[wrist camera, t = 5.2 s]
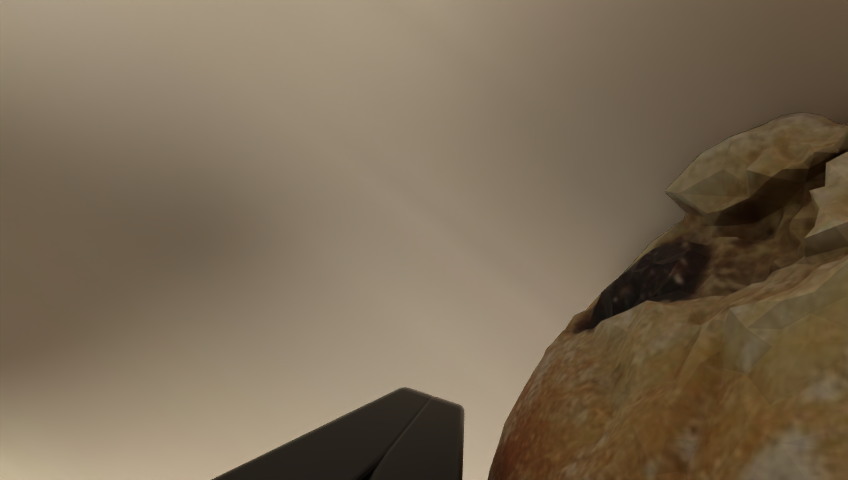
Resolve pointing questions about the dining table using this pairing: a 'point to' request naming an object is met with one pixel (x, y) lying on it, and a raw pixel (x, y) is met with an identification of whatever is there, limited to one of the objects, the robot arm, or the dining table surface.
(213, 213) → the dining table surface
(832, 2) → the dining table surface
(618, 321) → the bread roll
